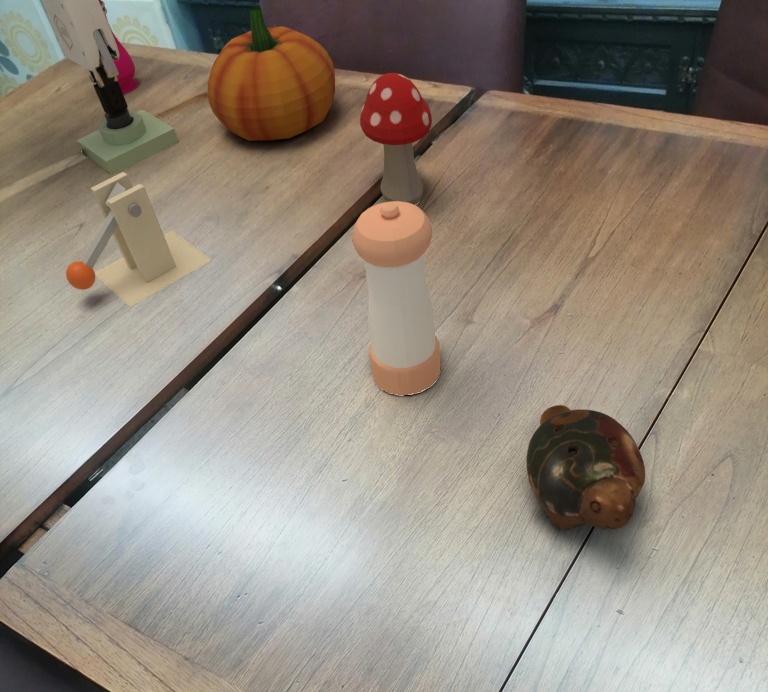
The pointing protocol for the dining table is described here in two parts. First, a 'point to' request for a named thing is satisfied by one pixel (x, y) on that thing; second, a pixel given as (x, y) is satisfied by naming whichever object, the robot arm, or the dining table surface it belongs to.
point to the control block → (127, 142)
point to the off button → (119, 120)
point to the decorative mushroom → (397, 133)
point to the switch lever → (93, 250)
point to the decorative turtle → (584, 469)
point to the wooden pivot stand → (142, 245)
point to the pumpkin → (271, 82)
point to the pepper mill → (123, 64)
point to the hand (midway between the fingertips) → (116, 110)
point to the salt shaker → (398, 296)
